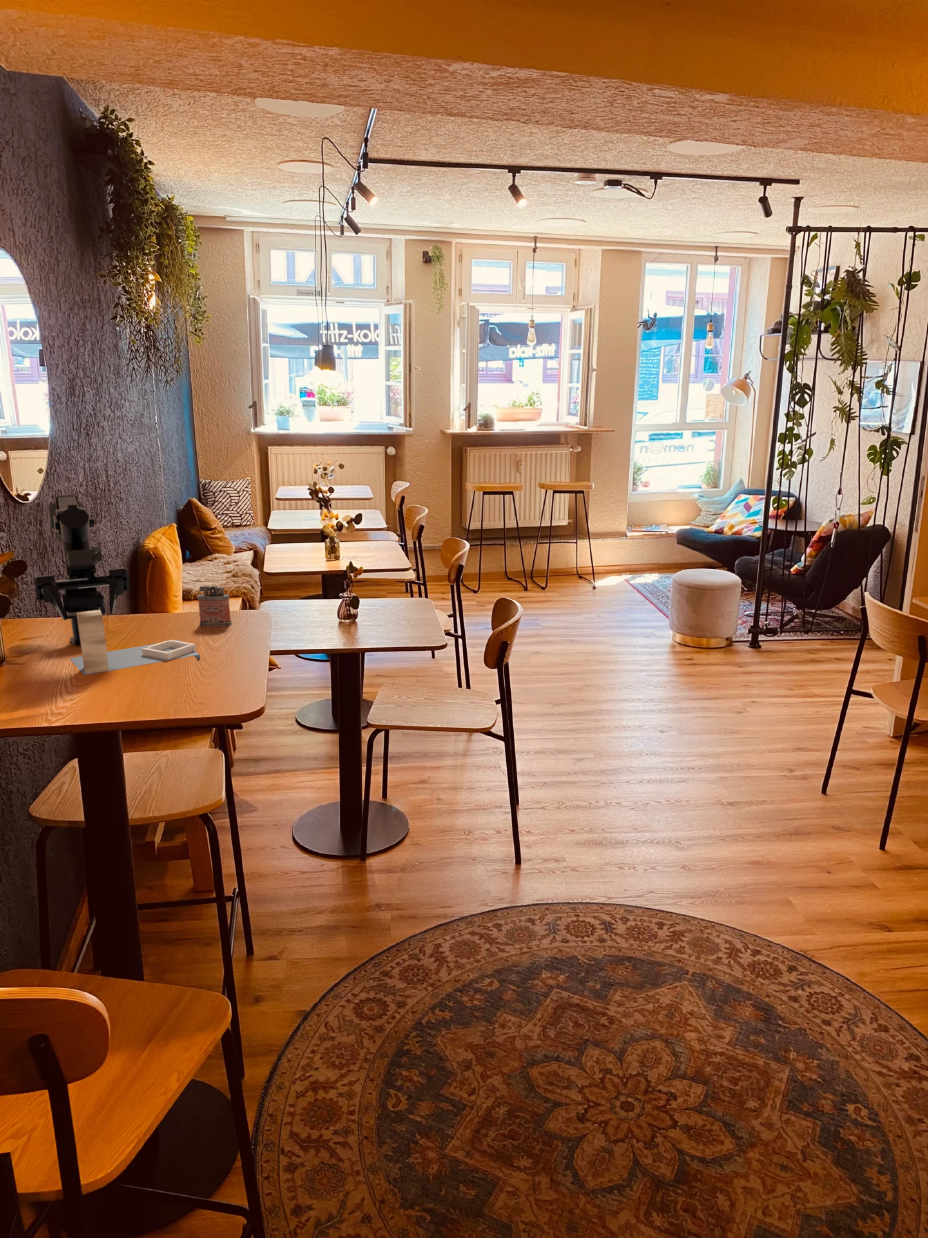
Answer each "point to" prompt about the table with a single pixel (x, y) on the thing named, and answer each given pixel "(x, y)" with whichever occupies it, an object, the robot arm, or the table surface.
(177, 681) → the table surface
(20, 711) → the table surface
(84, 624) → the birch pillar
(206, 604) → the lighter
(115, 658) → the plate
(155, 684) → the table surface
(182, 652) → the socket
